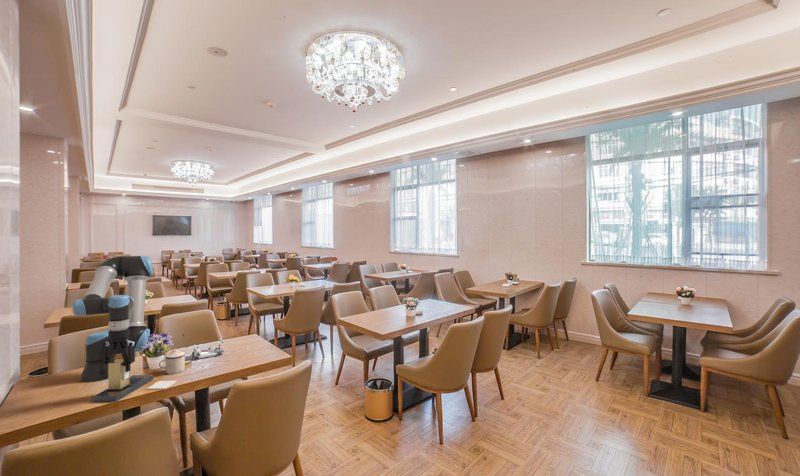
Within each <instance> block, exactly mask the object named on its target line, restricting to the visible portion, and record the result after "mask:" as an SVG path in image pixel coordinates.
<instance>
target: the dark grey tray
mask: <svg viewBox="0 0 800 476" xmlns="http://www.w3.org/2000/svg"><path fill="white" fill-rule="evenodd" d="M153 380H154V375H153V374H139V375H138V374H137V375H135V374H133V375H131V376H129V385H127V386H125V387H124V388H122V389H108V388H106V389H105V390H102V391H101V392H99V393H97V394H95V395H93V397H92V398H93V402H94V403H105V402H106V403H108V402H109V403H110V402H112V403H113V402H118V401H120V400H121V399H123V398H126V397H127V396H128V395H130V394H132V393H133V392H135V391H137V390H138V389H140V388H142V387H143V386H145V385H147V384H148V383H150V382H152V381H153Z"/></svg>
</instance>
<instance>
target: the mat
mask: <svg viewBox="0 0 800 476" xmlns="http://www.w3.org/2000/svg"><path fill="white" fill-rule="evenodd" d="M175 383H177V380H158V381H157V382H154V383H153V384H152V385H150V386H148V387H146V390H166V389H168V388H170V387H171V386H172V385H174V384H175ZM167 387H168V388H167Z"/></svg>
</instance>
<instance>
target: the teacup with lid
mask: <svg viewBox="0 0 800 476" xmlns="http://www.w3.org/2000/svg"><path fill="white" fill-rule="evenodd" d="M185 356H186V353H185V352H184V351H179V350H178V349H176V348H175V349H173V351H171V352H170V353H167V354H166V355H165V358H163V359H162V360H160V361H159V362H158V367H159V368H160V369H161V370H165V373H166V374H169V375H173V374H174V375H175V374H179V373H182V372H184V370H185V367H186V366H185V365H186V364H185V363H186V361H185V360H186V359H185ZM164 362H165V366H161V363H164Z"/></svg>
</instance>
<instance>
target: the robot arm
mask: <svg viewBox="0 0 800 476" xmlns="http://www.w3.org/2000/svg"><path fill="white" fill-rule="evenodd" d="M93 275H94V277H93V279H92V281H91V283H90V285H89V287H88V289H87V290H86V292H85V294H84V296H83V298H79V299H76V300H74V301H73V303H72V312H73V315H74V316H91V315H92V316H93V315H103V314H108V329H104V330H100V331H99V330H98V331H96V332H93V333H91V334H89V335H87V336H86V338H85V345H84V346H85V364H84V367H83V370H82V373H81V375H80V381H81V382H98V381H103V380H107V379H108V363H110V362H112V361H114V360H116V355H121V357H122V359H123V360H124V364H125V365H123V380H125V379H127V378H129V377H130V371H131V364H133V363H135V362H136V353H137V352H143V351H145V350H144V349H143V348H142V347H143V346H146V344H147V342H148V338H149V339H150V337H148V336H151V335H150V333H151V330H150V328H147V327H148V326H147V325H146V324H145V309H146V307H145V304H146V285H147V284H146V283H147V282H148V281H149V280H150V277H151V276H153V275H154V269H153V261H152V258H151V257H150V256H147V255H127V256H126V255H121V256H120V255H119V256H113V257H110V258H108V259H106V260H104V261H103V262H101V263H100V264H98V266H97V267H96V268H95V270H94V273H93ZM117 277H119V278H121V277H122V278H123V279H124V280H125V282H126V294H116V295H112V296H110V297H106V295H107V293H108V290H109V288H110V286H111V283H112V281H113V280H114V279H116V278H117ZM148 343H149V342H148ZM141 346H142V347H141Z"/></svg>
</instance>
